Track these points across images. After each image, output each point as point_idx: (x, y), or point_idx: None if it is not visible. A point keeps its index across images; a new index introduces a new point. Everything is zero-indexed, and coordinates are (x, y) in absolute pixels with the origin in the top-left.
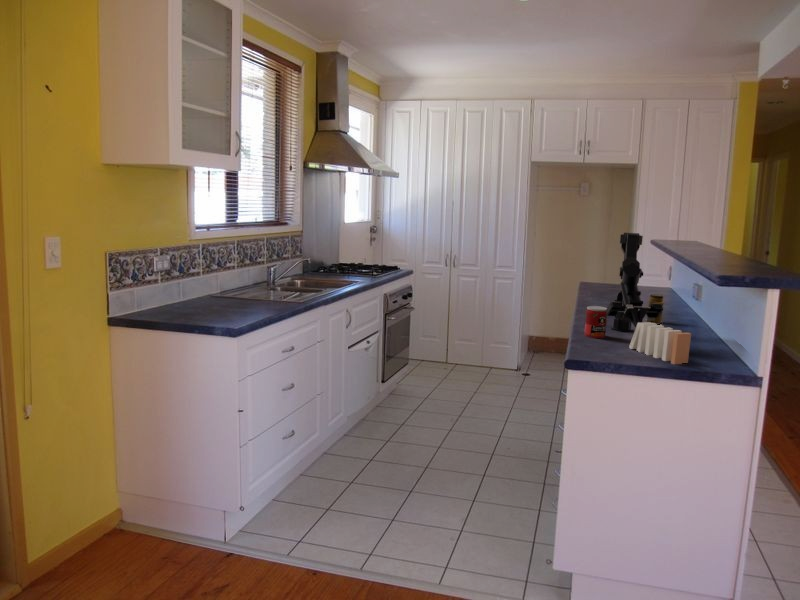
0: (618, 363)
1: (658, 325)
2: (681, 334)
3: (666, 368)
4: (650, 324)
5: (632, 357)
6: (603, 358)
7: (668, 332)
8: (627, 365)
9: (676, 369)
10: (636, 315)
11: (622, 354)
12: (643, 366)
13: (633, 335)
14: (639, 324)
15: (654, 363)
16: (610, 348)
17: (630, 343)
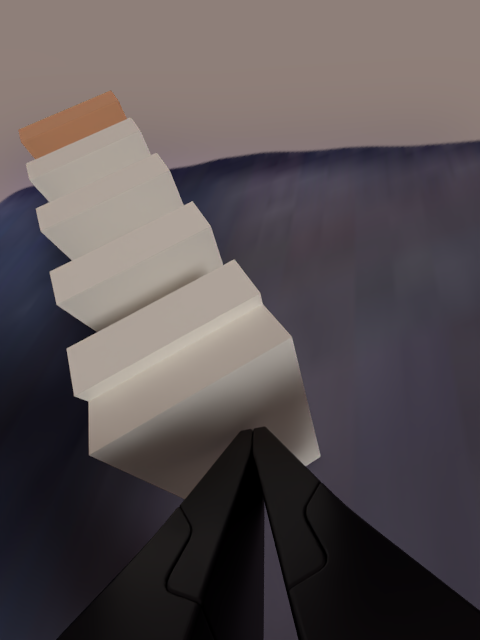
0: (374, 165)
1: (95, 273)
2: (88, 103)
3: (219, 174)
4: (156, 303)
5: (315, 259)
6: (440, 201)
7: (134, 123)
8: (342, 157)
9: (191, 176)
10: (305, 543)
11: (360, 294)
12: (289, 166)
13: (309, 414)
14: (272, 320)
15: (242, 210)
16: (441, 419)
17: (316, 444)
